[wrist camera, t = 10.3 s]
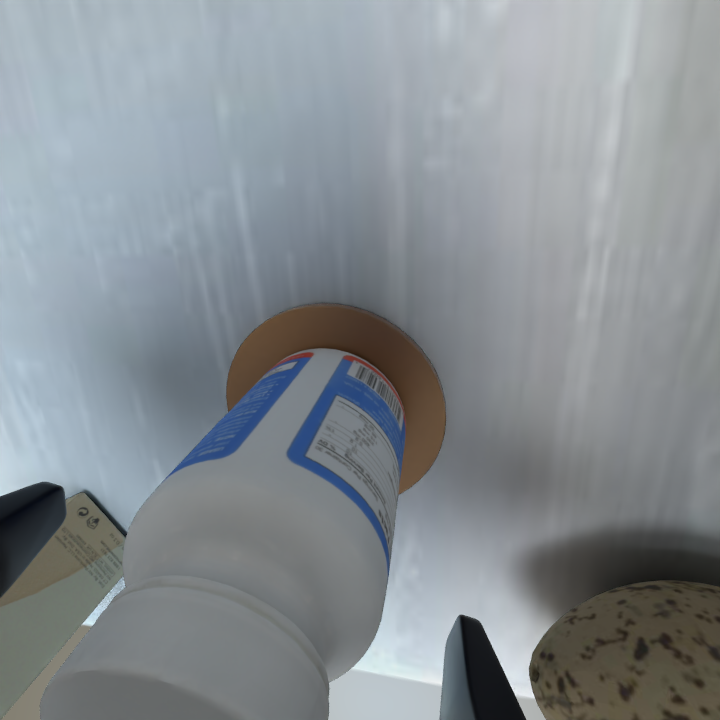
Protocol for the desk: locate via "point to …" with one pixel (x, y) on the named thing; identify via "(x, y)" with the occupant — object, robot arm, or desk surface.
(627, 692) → the decorative egg
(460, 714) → the robot arm
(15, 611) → the box
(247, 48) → the desk surface
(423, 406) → the coaster
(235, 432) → the pill bottle
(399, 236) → the desk surface
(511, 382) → the desk surface
